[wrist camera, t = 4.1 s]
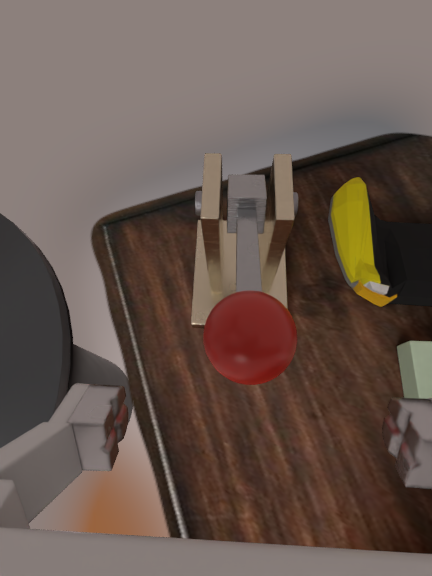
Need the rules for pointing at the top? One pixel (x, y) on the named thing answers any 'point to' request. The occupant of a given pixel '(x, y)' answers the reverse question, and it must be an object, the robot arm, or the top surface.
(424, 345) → the button box
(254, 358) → the switch lever
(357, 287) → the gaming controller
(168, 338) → the top surface
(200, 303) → the switch bracket
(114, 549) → the robot arm
